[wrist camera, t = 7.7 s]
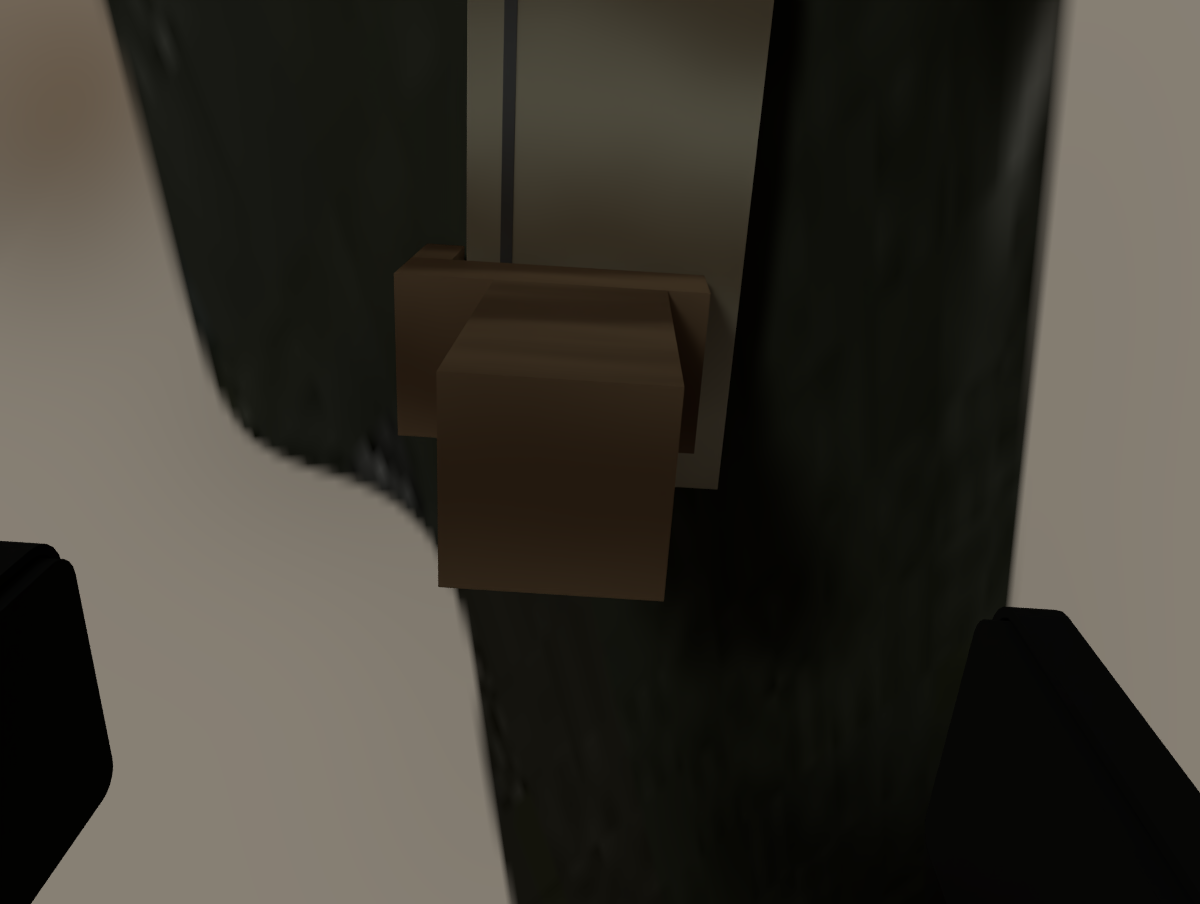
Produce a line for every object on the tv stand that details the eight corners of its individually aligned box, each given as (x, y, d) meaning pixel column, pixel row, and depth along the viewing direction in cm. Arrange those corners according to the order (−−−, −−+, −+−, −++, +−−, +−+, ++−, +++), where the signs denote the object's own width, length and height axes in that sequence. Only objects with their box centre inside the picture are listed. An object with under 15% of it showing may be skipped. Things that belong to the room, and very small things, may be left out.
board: (480, -92, 23) (467, -106, 21) (771, -74, 23) (784, -86, 21) (476, 446, 28) (466, 473, 26) (711, 461, 28) (717, 489, 26)
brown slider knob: (427, 243, 25) (293, 361, 15) (698, 260, 25) (746, 391, 15) (429, 385, 27) (309, 578, 17) (685, 401, 27) (720, 605, 17)
